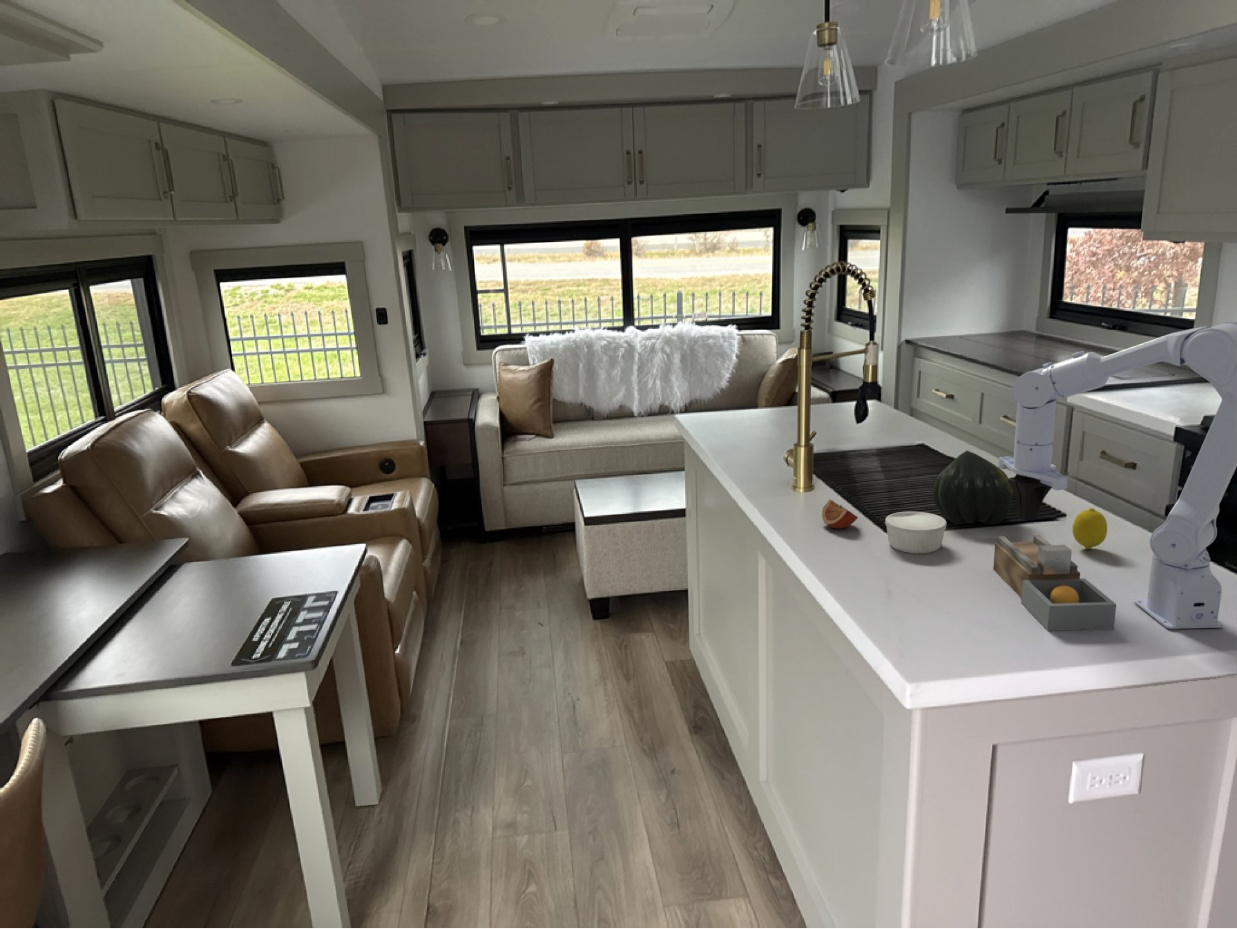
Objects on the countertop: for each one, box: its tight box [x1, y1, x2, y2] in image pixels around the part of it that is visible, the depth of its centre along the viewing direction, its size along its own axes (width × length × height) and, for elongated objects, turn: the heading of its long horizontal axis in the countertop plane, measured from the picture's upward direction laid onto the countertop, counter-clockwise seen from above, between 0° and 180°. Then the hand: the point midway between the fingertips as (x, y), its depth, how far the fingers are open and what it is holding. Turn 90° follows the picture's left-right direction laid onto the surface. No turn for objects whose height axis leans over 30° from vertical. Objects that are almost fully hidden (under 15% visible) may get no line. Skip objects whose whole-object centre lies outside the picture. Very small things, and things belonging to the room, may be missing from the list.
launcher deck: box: [992, 534, 1081, 598], centre depth 139 cm, size 14×8×6 cm, turn 177°
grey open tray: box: [1020, 577, 1117, 631], centre depth 128 cm, size 10×10×4 cm
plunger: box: [1037, 544, 1073, 575], centre depth 131 cm, size 2×4×4 cm, turn 87°
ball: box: [1050, 586, 1079, 604], centre depth 128 cm, size 4×4×4 cm
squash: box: [932, 450, 1014, 526], centre depth 170 cm, size 14×15×15 cm
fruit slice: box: [821, 499, 859, 529], centre depth 172 cm, size 8×7×5 cm
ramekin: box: [884, 511, 947, 555], centre depth 159 cm, size 11×11×5 cm
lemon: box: [1072, 507, 1108, 550], centre depth 152 cm, size 6×6×8 cm
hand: (1027, 518), depth 141 cm, fingers closed
